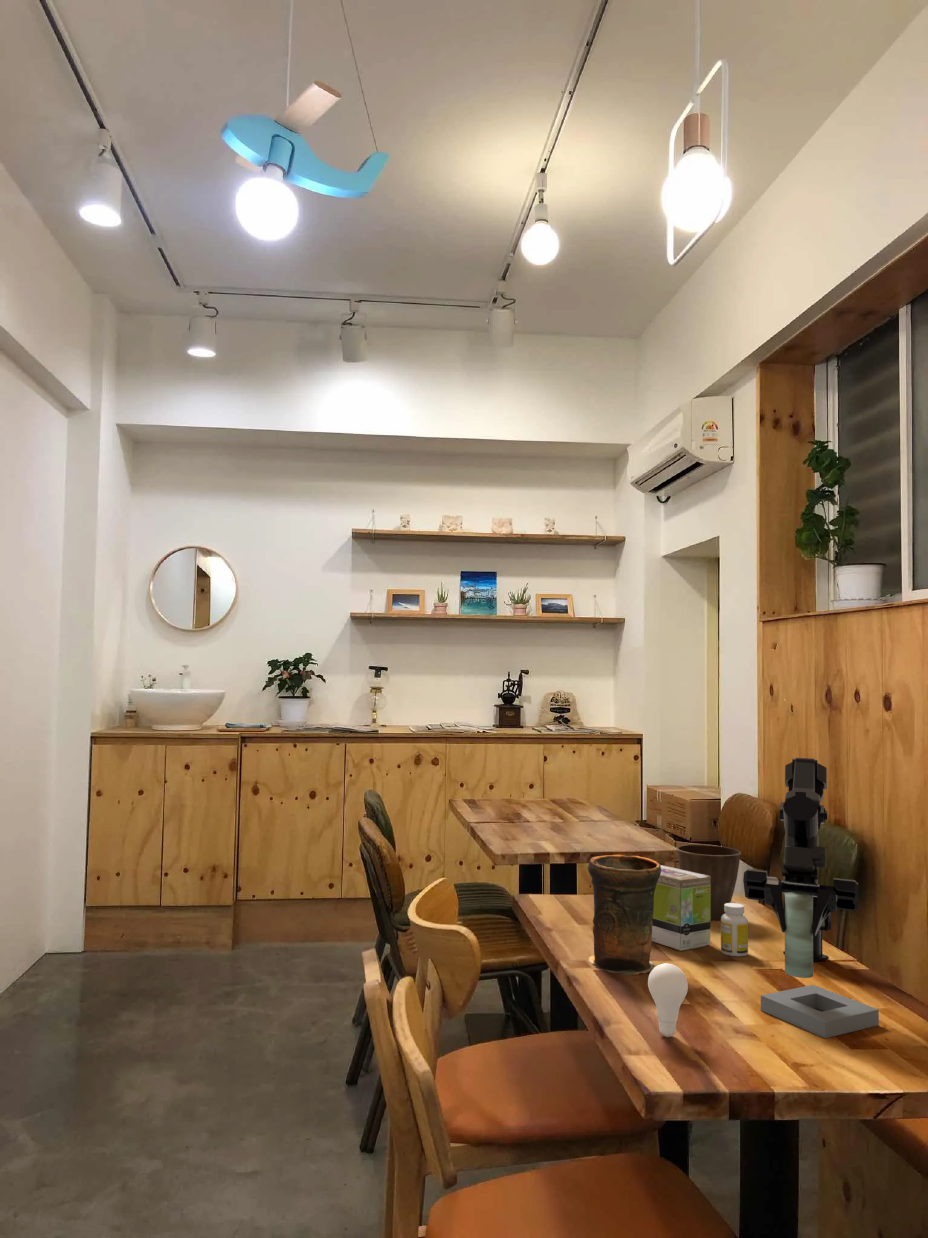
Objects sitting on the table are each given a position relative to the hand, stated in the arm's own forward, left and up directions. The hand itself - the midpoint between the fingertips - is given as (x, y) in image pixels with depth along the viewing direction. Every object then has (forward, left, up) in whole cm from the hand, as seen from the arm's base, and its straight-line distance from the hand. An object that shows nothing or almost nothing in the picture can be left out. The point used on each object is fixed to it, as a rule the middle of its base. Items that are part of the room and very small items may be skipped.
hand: (798, 933), depth 147 cm
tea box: (-11, -44, -14) cm, 47 cm away
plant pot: (-33, -55, -14) cm, 65 cm away
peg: (-1, -1, -7) cm, 7 cm away
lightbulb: (+26, -3, -14) cm, 30 cm away
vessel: (+9, -35, -14) cm, 38 cm away
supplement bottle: (-17, -31, -14) cm, 37 cm away
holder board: (-3, +2, -14) cm, 14 cm away
